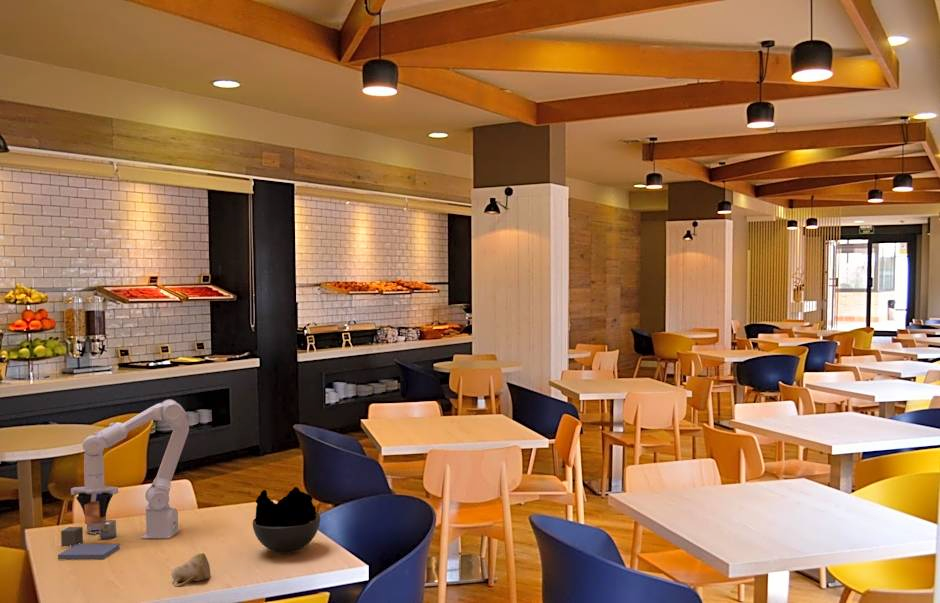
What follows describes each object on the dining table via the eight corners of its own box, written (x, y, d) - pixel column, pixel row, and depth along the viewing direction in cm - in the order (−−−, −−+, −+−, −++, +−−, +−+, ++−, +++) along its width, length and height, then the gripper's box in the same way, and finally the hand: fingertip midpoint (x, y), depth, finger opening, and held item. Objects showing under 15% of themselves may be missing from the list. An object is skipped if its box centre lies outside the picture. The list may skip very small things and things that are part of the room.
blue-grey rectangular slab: (119, 548, 254) (119, 544, 254) (103, 559, 244) (103, 554, 244) (76, 549, 254) (75, 544, 254) (58, 559, 244) (57, 554, 244)
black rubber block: (83, 542, 262) (82, 526, 262) (75, 546, 257) (74, 531, 257) (69, 542, 262) (68, 527, 262) (61, 546, 257) (61, 531, 257)
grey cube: (119, 534, 269) (118, 519, 269) (112, 539, 264) (111, 523, 264) (103, 535, 269) (103, 520, 269) (97, 539, 264) (96, 524, 264)
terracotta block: (106, 519, 261) (105, 501, 260) (98, 523, 256) (98, 504, 256) (92, 519, 261) (91, 501, 261) (84, 523, 256) (84, 504, 256)
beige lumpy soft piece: (171, 578, 226) (189, 544, 229) (202, 594, 226) (220, 559, 228) (163, 581, 219) (182, 546, 221) (196, 597, 219) (214, 561, 221)
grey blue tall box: (98, 535, 269) (97, 489, 269) (83, 534, 270) (82, 489, 270) (109, 530, 275) (107, 485, 274) (94, 529, 276) (93, 485, 276)
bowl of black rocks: (334, 545, 252) (332, 484, 251) (294, 565, 234) (292, 500, 233) (281, 538, 260) (280, 479, 260) (239, 557, 242) (237, 494, 242)
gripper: (65, 476, 255) (66, 520, 255) (110, 476, 254) (111, 520, 254) (77, 471, 262) (78, 514, 262) (121, 471, 261) (122, 513, 261)
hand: (95, 516), depth 258 cm, fingers closed on terracotta block, 4 cm apart
